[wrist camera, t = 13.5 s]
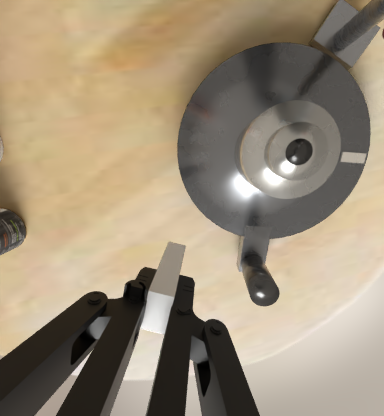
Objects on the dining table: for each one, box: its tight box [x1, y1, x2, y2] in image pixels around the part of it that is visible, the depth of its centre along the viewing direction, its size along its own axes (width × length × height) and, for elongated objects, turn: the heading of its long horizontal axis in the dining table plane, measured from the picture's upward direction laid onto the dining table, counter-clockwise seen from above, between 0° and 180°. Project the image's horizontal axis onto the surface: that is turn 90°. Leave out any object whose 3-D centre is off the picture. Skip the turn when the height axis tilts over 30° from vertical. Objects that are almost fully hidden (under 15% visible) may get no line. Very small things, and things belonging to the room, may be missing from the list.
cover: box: [234, 100, 341, 199], centre depth 19 cm, size 8×8×7 cm
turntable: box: [178, 43, 370, 306], centre depth 21 cm, size 25×20×7 cm
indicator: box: [309, 0, 384, 70], centre depth 16 cm, size 8×5×14 cm, turn 148°
